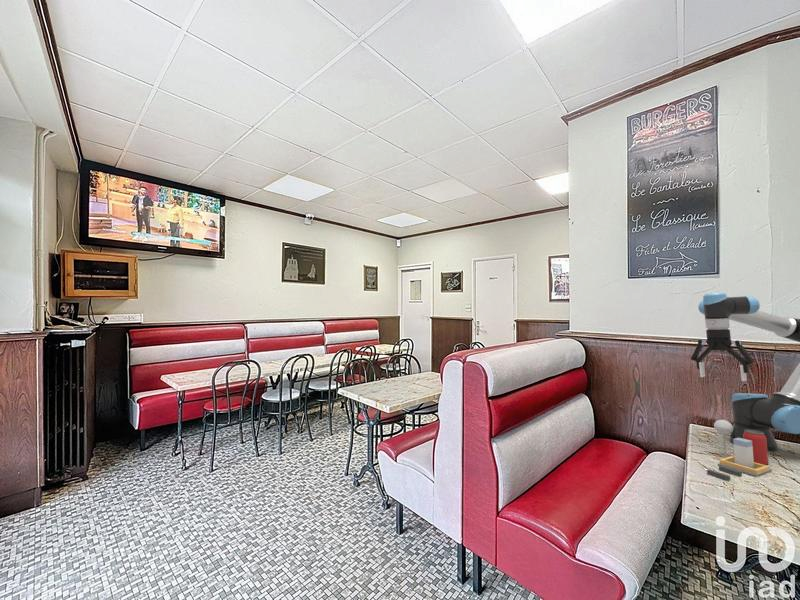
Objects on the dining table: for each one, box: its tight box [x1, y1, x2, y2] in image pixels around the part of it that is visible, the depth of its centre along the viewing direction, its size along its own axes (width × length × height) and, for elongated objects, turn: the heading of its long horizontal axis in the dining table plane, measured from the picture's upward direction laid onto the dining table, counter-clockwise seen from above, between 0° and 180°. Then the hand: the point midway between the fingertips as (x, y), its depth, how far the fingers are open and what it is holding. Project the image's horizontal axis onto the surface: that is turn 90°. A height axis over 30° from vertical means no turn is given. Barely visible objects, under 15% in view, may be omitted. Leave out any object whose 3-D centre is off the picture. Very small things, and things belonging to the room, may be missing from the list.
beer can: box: [743, 429, 769, 466], centre depth 137 cm, size 7×7×12 cm
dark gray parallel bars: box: [706, 466, 743, 482], centre depth 125 cm, size 10×6×2 cm, turn 113°
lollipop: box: [713, 419, 734, 458], centre depth 142 cm, size 6×6×15 cm
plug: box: [732, 438, 754, 468], centre depth 131 cm, size 4×4×10 cm
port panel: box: [717, 455, 772, 478], centre depth 131 cm, size 12×11×2 cm
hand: (722, 378), depth 145 cm, fingers open, 13 cm apart
